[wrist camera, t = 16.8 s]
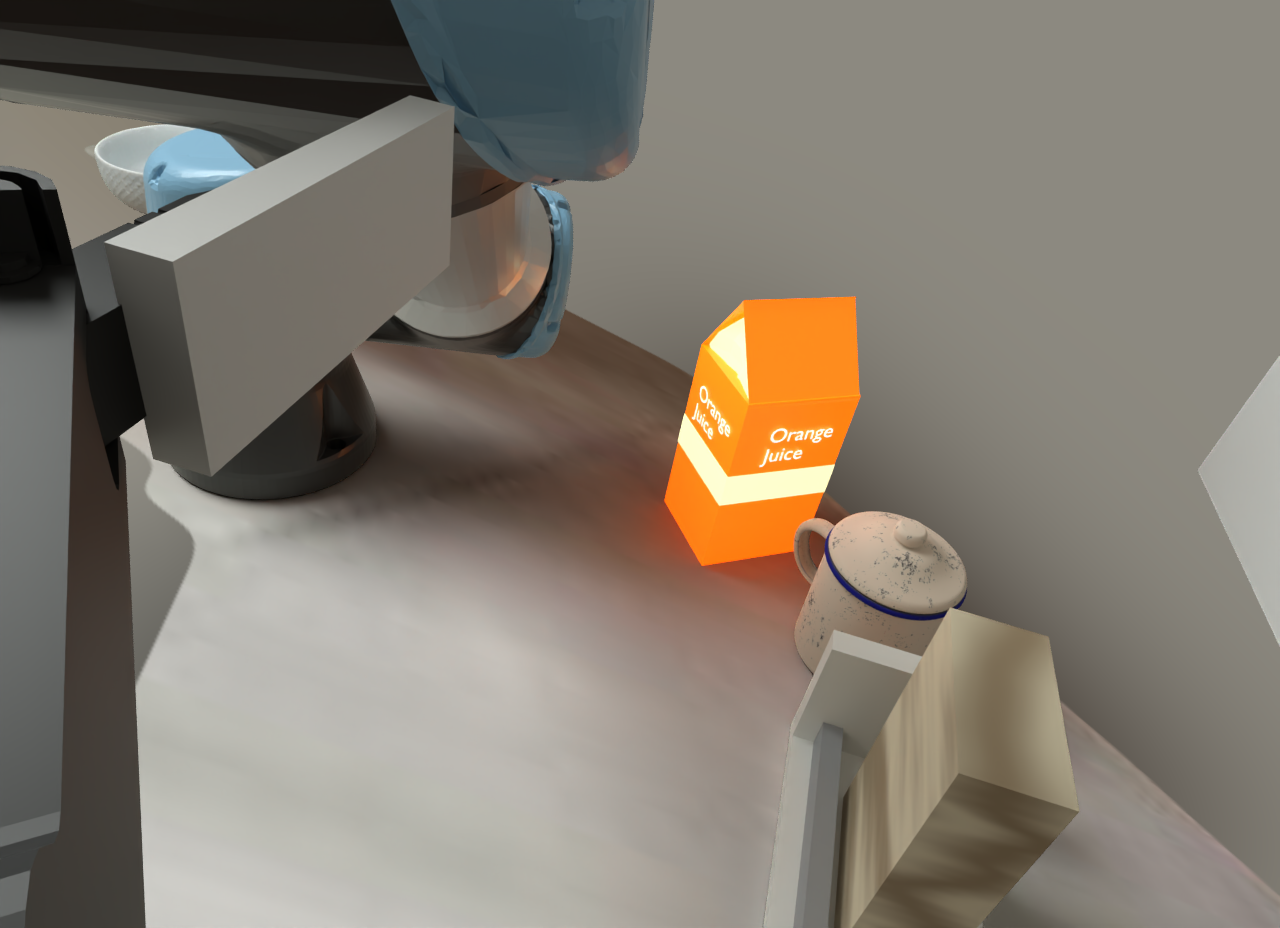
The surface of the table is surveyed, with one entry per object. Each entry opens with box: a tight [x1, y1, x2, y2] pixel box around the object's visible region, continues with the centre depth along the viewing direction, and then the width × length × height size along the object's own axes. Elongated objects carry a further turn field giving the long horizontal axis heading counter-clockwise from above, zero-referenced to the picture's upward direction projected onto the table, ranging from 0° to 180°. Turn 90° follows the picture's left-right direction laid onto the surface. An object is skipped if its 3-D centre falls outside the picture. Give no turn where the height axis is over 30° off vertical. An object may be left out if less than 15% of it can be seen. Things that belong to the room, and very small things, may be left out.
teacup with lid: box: [794, 511, 967, 674], centre depth 57 cm, size 12×9×12 cm
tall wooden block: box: [834, 607, 1079, 928], centre depth 40 cm, size 4×9×16 cm, turn 165°
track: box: [763, 630, 983, 928], centre depth 44 cm, size 16×11×9 cm
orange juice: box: [664, 297, 860, 566], centre depth 62 cm, size 8×9×20 cm
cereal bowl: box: [95, 124, 196, 214], centre depth 93 cm, size 17×17×7 cm
